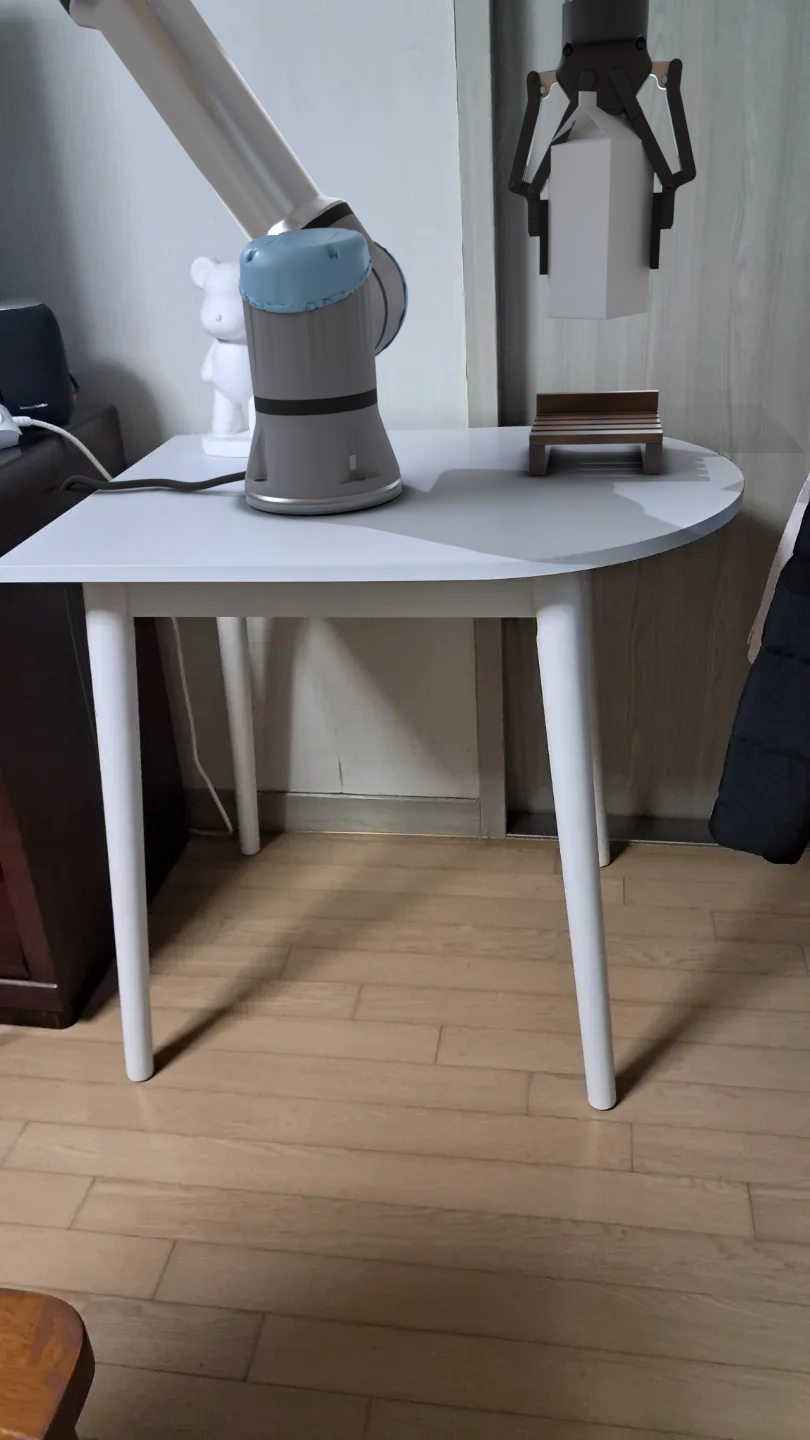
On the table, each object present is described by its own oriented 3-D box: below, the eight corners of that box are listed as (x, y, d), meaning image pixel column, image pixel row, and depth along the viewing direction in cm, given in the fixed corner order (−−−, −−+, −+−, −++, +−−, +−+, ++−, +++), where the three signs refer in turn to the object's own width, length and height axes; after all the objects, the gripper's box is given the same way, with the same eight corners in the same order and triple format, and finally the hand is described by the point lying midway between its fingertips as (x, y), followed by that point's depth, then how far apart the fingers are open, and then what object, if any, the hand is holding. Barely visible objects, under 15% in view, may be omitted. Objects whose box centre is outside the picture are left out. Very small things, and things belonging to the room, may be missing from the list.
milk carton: (648, 313, 101) (659, 88, 93) (606, 321, 97) (613, 86, 89) (589, 312, 106) (594, 97, 98) (546, 319, 102) (547, 96, 93)
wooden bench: (528, 475, 104) (529, 414, 102) (536, 448, 116) (536, 392, 113) (660, 474, 102) (664, 411, 99) (655, 446, 113) (658, 389, 111)
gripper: (472, -2, 89) (479, 279, 99) (744, -29, 84) (722, 267, 94) (482, 12, 95) (487, 274, 105) (735, -13, 91) (715, 263, 101)
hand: (598, 271), depth 100 cm, fingers closed on milk carton, 10 cm apart
